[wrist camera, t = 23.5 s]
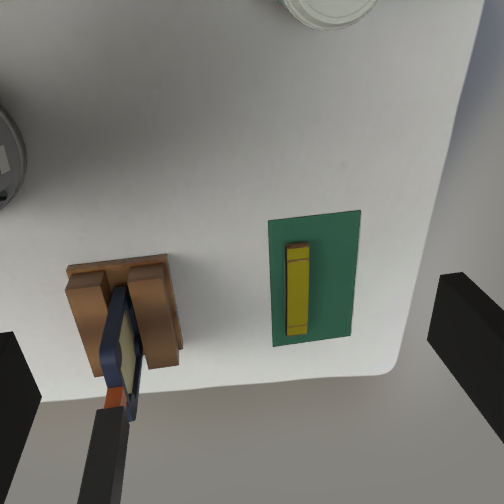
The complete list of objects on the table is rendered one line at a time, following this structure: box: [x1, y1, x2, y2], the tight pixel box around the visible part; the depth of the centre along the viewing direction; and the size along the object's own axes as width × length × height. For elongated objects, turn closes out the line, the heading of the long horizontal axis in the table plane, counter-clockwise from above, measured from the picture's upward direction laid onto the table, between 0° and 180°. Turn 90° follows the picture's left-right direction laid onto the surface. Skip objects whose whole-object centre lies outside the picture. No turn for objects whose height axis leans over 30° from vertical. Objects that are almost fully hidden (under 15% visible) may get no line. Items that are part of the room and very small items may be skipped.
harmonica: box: [285, 242, 309, 336], centre depth 58 cm, size 15×3×2 cm, turn 2°
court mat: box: [268, 210, 361, 347], centre depth 59 cm, size 12×21×1 cm, turn 3°
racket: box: [77, 286, 143, 504], centre depth 44 cm, size 11×3×27 cm, turn 3°
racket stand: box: [65, 254, 183, 377], centre depth 54 cm, size 15×12×5 cm
